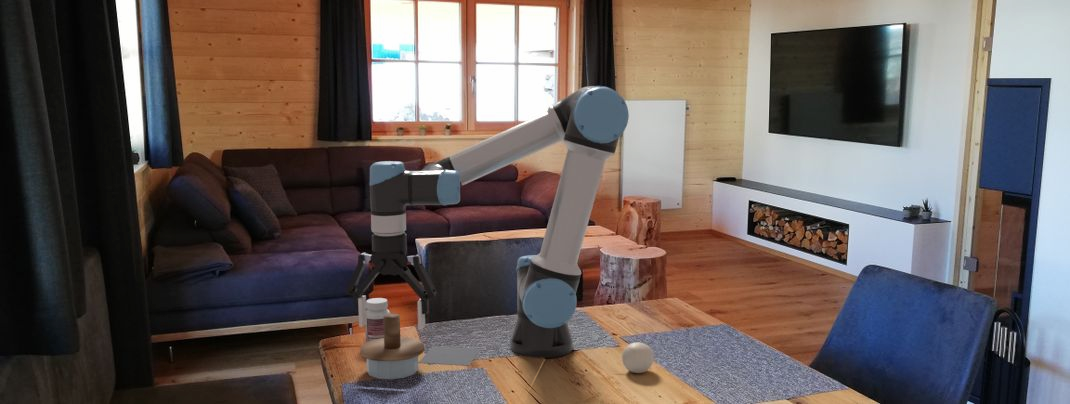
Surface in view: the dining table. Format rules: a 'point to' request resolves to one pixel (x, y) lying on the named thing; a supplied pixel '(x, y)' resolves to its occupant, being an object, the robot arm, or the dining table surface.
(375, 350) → the lid
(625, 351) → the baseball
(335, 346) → the dining table surface
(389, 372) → the bowl
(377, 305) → the pill bottle
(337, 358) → the dining table surface
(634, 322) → the dining table surface
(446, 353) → the mat
